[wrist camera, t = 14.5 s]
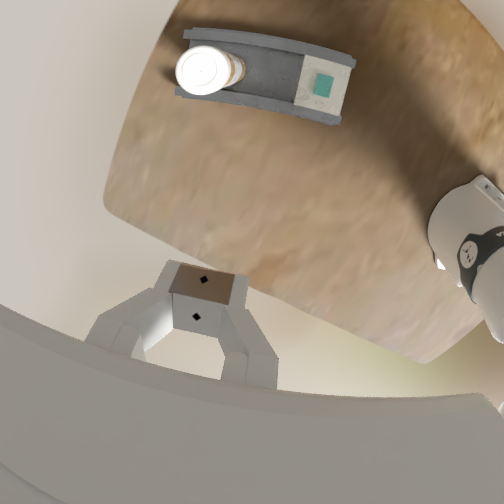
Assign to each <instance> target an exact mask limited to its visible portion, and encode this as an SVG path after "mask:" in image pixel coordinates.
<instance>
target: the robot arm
mask: <svg viewBox="0 0 504 504" xmlns="http://www.w3.org/2000/svg"><path fill="white" fill-rule="evenodd" d="M485 186H486V187H485ZM428 239H429V243H430V245H431V247H432V249H433V251H434V253H435V264H436V265H437V267H438V268H439V269H445V270H446V271H447V272H448V274H449V275H450V277H451V278H452V279H453V281H454V282H455V284H456V285H457V286H458V287H464V289H465V292H466V293H467V295H468V296H469V297H470V298H471V300H472V301H473V302H474V303H475V304H477V306H478V308H479V310H480V312H481V314H482V315H483V317H484V319H485V321H486V323H487V325H488V327H489V330H490V331H491V334H492V336H493V337H494V338H495V339H496V340H497V341H498V342H500V343H503V344H504V195H503V193H502V192H501V191H500V190H499V189H498V188H497V187H496V186H495V185H494V184H493V183H492V182H491V181H489V180H488V179H487V178H486V177H485V176H484V175H479V176H477V177H476V178H475V179H474V180H473V181H471V182H470V183H468V184H466V185H463V186H460V187H457V188H455V189H453V190H451V191H450V192H449V193H447V194H446V195H445V196H444V197H443V198H442V199H441V200H440V201H439V203H438V204H437V206H436V207H435V209H434V211H433V213H432V215H431V218H430V221H429V225H428ZM234 277H235V278H234ZM248 284H249V276H246V275H240V274H233V273H228V272H223V271H218V270H213V269H208V268H204V267H200V266H196V265H191V264H187V263H181V262H178V261H174V260H168V261H167V262H166V264H165V266H164V269H163V270H162V272H161V274H160V276H159V278H158V280H157V282H156V284H155V286H154V288H153V289H152V288H148V289H146V290H144V291H143V292H141V293H139V294H137V295H135V296H133V297H132V298H130V299H128V300H126V301H124V302H122V303H121V304H119V305H117V306H115V307H114V308H112V309H110V310H108V311H106V312H104V313H103V314H101V315H99V316H98V318H97V320H96V322H95V323H94V325H93V327H92V328H91V330H90V332H89V334H88V336H87V337H86V339H85V341H81V340H79V339H76V338H74V337H71V336H68V335H66V334H64V333H61V332H59V331H56V330H54V329H52V328H49V327H47V326H45V325H42V324H40V323H38V322H36V321H34V320H31V319H29V318H27V317H25V316H23V315H21V314H19V313H17V312H15V311H13V310H11V309H9V308H7V307H5V306H3V305H1V304H0V504H504V402H503V403H502V404H501V406H500V407H499V409H498V410H497V409H496V408H495V407H494V405H493V404H492V403H491V402H490V401H489V399H488V398H486V397H485V396H484V395H483V394H481V393H466V394H456V395H444V396H429V397H393V398H392V397H353V396H335V395H322V394H311V393H301V392H292V391H284V390H277V376H278V359H279V358H278V357H277V355H276V354H275V352H274V351H273V349H272V347H271V346H270V344H269V342H268V341H267V339H266V338H265V336H264V335H263V333H262V331H261V329H260V328H259V326H258V325H257V323H256V321H255V320H254V318H253V316H252V315H251V313H250V311H249V310H248V309H244V308H245V302H246V296H247V290H248ZM173 328H175V329H180V330H185V331H190V332H195V333H199V334H203V335H207V336H211V337H216V338H218V340H219V343H220V345H221V348H222V350H223V352H224V355H225V361H224V366H223V371H222V375H221V380H217V379H212V378H207V377H202V376H198V375H194V374H189V373H185V372H181V371H177V370H173V369H169V368H166V367H162V366H158V365H155V364H151V363H147V362H146V359H145V354H144V352H146V351H147V350H148V349H149V348H151V347H152V346H153V345H154V344H156V343H157V342H158V341H159V340H160V339H161V338H163V337H164V336H165V335H167V334H168V333H169V332H170V331H171V330H173Z"/></svg>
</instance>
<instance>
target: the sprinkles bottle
mask: <svg viewBox="0 0 504 504" xmlns="http://www.w3.org/2000/svg"><path fill="white" fill-rule="evenodd" d="M245 70H246V69H245V64H244V61H243V60H242V59H241V58H240V57H239V56H237V55H235V54H233V53H228V52H226V51H222V50H220V49H218V48H215V47H212V46H205V45H202V46H196V47H193V48H190V49H188V50H187V51H186V52H184V53H183V54H182V55H181V57H180V58H179V60H178V62H177V64H176V69H175V74H176V79H177V81H178V83H179V85H180V86H181V87H182V88H183V89H184V90H185V91H187V92H189V93H191V94H195V95H206V94H210V93H213V92H216V91H218V90H219V89H221V88H224V87H227V86H231V85H234V84H237V83H238V82H239V81H241V80H242V78H243V77H244V75H245Z"/></svg>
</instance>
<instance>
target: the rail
mask: <svg viewBox="0 0 504 504" xmlns="http://www.w3.org/2000/svg"><path fill="white" fill-rule="evenodd" d="M183 39H187V40H190V45H189V49H190V48H193V47H196V46H202V45H205V46H212V47H215V48H218V49H220V50H222V51H226V52H228V53H233V54H235V55H237V56H239V57H240V58H241V59H242V60H243V61H244V64H245V69H246V70H245V75H244V77H243V78H242V80H241V81H239V82H238V83H237V84H234V85H231V86H227V87H224V88H221V89H219V90H218V91H216V92H213V93H210V94H206V95H195V94H191V93H189V92H187V91H185V90H184V89H183V88H182V87H181V86H180V85H177V86H176V88H175V95H180V96H182V98H190V99H199V100H208V101H215V102H223V103H229V104H236V105H242V106H248V107H254V108H259V109H264V110H269V111H274V112H279V113H284V114H288V115H293V116H297V117H301V118H305V119H309V120H313V121H317V122H321V123H325V124H328V125H332V126H334V125H335V124H336V125H340V122H341V119H342V116H341V115H340V111H341V108H342V104H343V100H344V96H345V92H346V89H347V85H348V81H349V77H350V73H351V69H355V65H356V61H357V60H356V59H353V58H352V55H349V54H345V53H342V52H339V51H335V50H332V49H328V48H325V47H321V46H317V45H313V44H309V43H305V42H301V41H296V40H292V39H287V38H282V37H277V36H271V35H265V34H259V33H252V32H244V31H236V30H227V29H215V28H199V27H193V28H192V30H185V29H184V34H183Z"/></svg>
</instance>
